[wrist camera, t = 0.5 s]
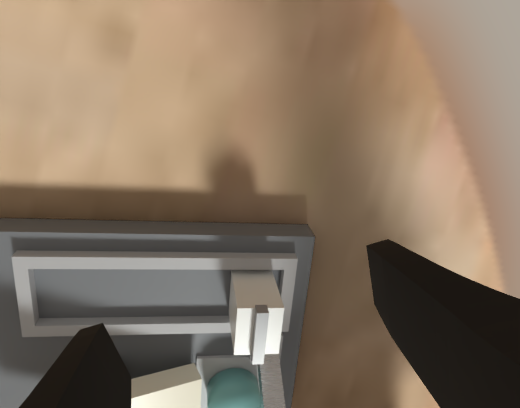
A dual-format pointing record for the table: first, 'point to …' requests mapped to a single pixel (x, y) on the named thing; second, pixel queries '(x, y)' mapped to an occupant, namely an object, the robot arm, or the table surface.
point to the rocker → (168, 389)
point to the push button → (233, 390)
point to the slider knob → (255, 314)
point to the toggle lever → (271, 382)
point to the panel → (141, 293)
